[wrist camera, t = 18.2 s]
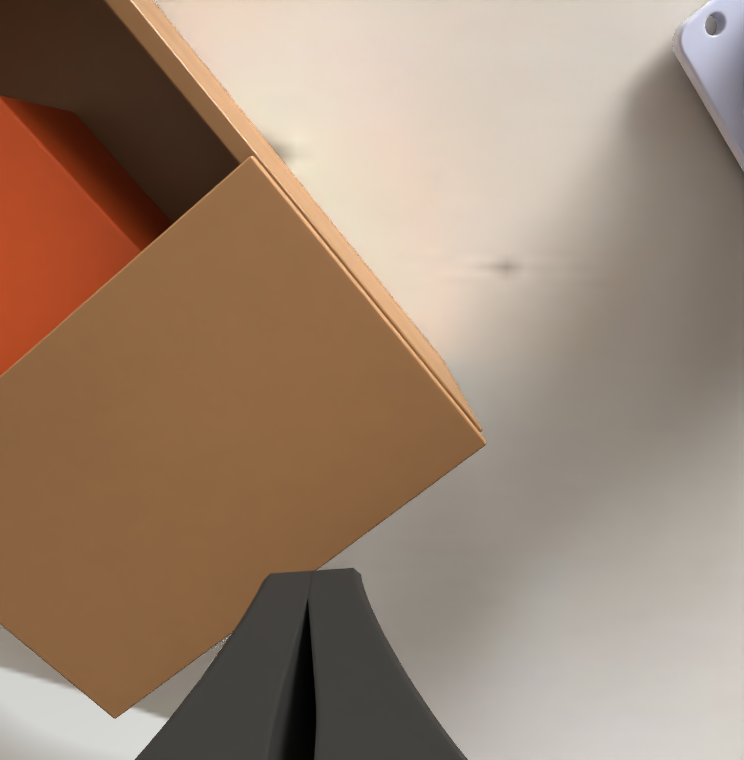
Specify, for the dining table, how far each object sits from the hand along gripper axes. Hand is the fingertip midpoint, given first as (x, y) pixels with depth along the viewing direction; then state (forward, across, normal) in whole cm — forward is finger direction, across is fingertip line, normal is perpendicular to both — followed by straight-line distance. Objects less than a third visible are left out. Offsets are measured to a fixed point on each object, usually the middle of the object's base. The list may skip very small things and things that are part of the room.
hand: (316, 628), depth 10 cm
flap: (+5, +3, -1) cm, 6 cm away
